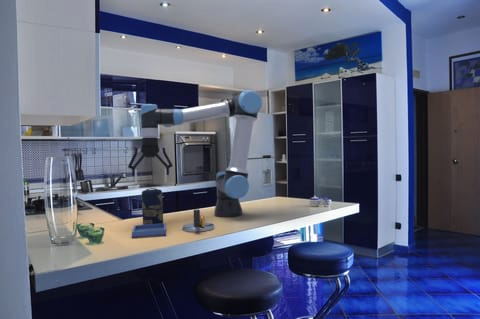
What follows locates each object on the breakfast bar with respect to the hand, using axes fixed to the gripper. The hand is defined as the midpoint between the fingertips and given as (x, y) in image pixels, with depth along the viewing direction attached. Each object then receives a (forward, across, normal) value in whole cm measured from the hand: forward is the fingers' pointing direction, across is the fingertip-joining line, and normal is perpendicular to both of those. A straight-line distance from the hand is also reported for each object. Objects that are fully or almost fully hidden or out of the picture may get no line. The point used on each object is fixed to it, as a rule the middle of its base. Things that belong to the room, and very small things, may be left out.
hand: (151, 182), depth 174 cm
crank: (+19, -20, +18) cm, 33 cm away
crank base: (+20, -20, +14) cm, 32 cm away
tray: (+20, +1, +16) cm, 26 cm away
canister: (+21, 0, 0) cm, 21 cm away
